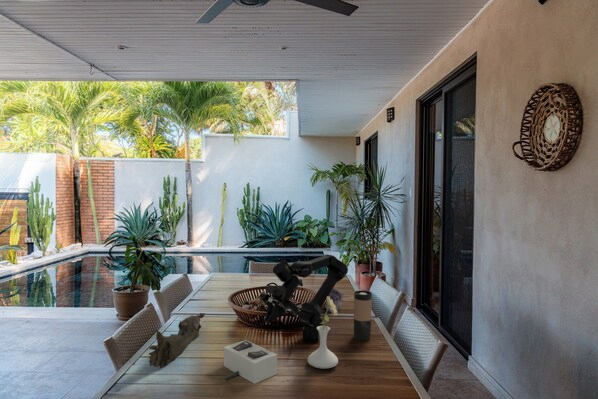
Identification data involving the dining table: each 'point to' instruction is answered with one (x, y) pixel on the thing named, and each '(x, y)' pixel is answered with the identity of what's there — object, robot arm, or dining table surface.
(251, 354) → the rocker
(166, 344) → the driftwood
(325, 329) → the flower in vase
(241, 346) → the rocker
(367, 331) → the travel mug
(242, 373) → the box
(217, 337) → the dining table surface
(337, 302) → the geode
